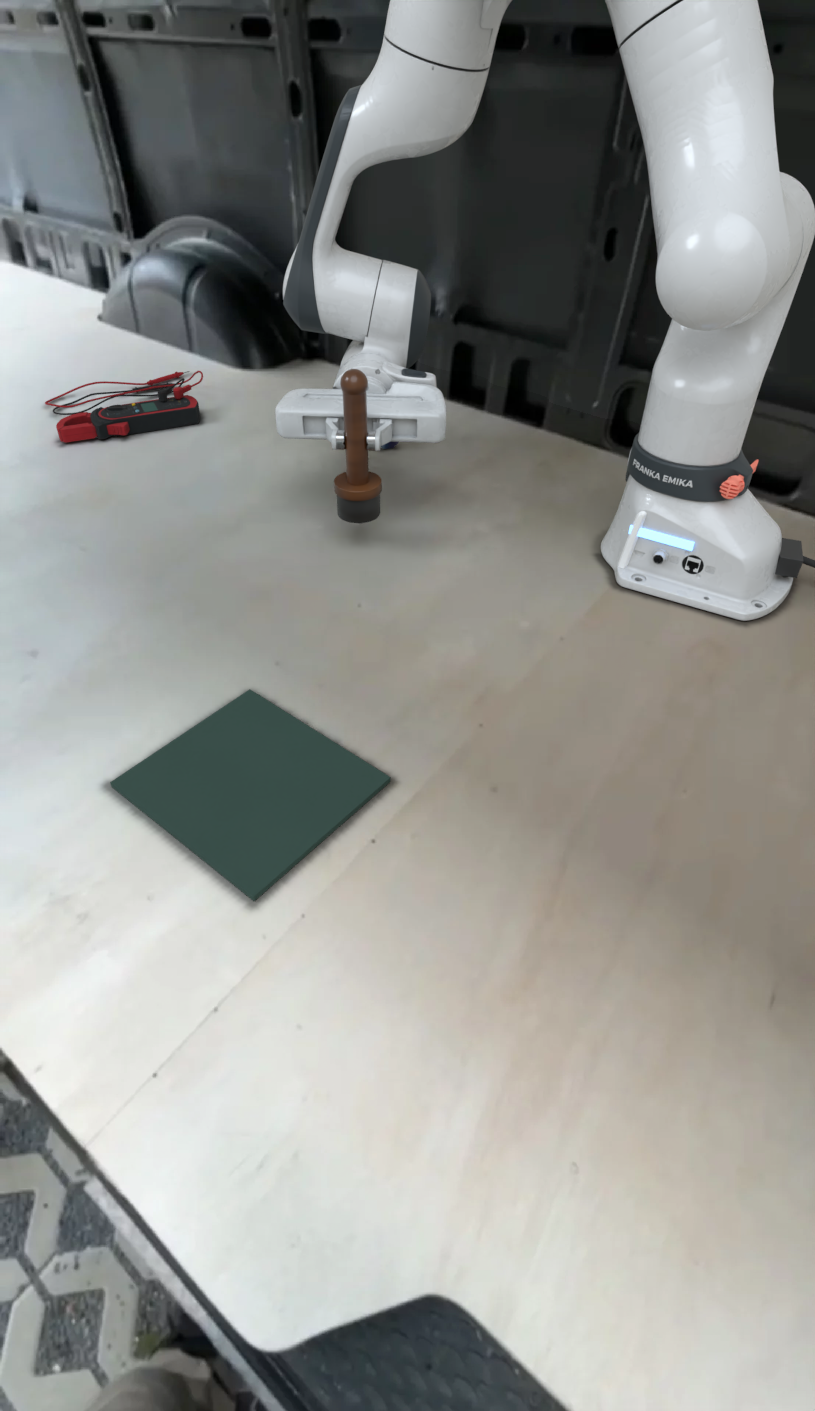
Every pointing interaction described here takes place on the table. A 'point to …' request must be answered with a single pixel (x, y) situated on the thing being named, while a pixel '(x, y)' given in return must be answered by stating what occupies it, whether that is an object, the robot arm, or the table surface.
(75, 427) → the digital clamp meter
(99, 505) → the table surface
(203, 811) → the mat
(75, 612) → the table surface
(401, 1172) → the table surface
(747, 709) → the table surface
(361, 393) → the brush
